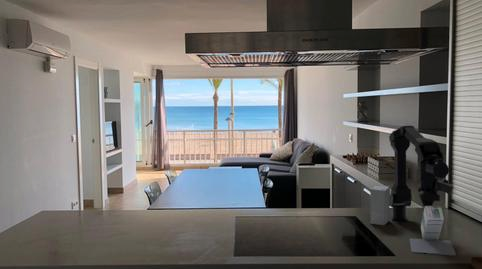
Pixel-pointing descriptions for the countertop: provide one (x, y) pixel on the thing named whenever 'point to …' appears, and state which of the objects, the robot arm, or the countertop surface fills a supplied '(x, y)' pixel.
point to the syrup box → (432, 222)
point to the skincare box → (379, 204)
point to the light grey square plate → (432, 247)
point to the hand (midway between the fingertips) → (428, 214)
